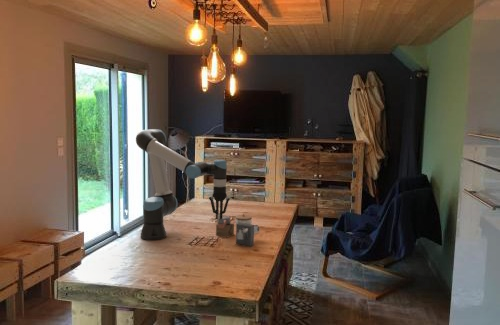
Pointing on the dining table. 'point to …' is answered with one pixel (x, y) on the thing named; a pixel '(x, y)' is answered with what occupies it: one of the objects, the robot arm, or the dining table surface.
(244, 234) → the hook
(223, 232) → the tan square block
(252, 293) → the dining table surface
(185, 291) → the dining table surface
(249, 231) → the dark boxy piece
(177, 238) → the dining table surface
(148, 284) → the dining table surface
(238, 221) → the lidded jar
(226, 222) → the ball ended rod
